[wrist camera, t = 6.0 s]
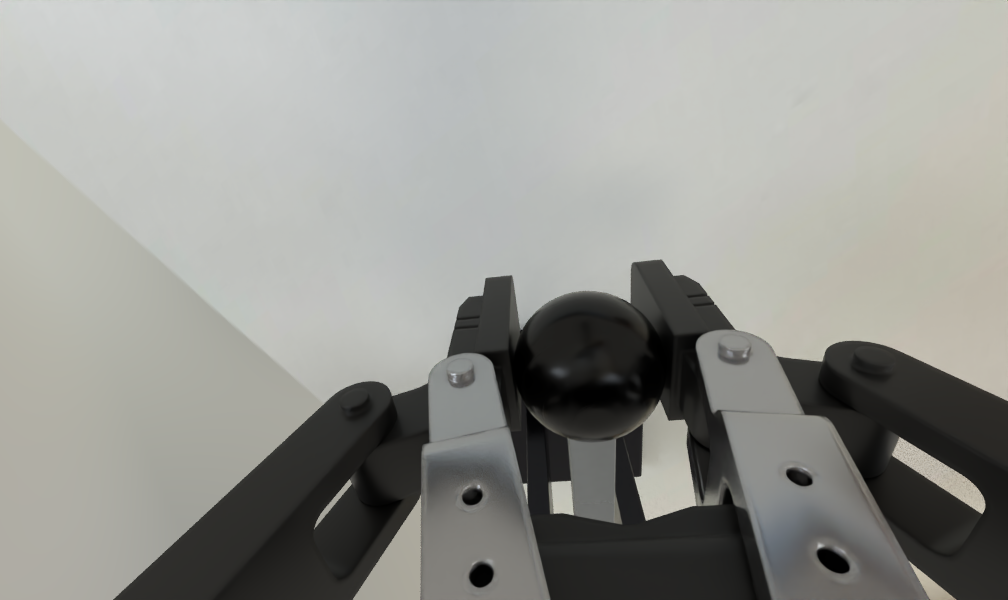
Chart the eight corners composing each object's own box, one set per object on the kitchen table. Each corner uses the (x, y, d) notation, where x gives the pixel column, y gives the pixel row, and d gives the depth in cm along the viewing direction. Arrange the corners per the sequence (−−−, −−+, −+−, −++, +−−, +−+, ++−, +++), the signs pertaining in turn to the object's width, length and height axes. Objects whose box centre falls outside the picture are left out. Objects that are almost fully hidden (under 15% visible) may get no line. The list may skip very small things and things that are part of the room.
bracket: (484, 333, 26) (452, 581, 14) (640, 318, 25) (754, 569, 13) (510, 470, 31) (504, 729, 19) (637, 462, 30) (713, 727, 18)
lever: (505, 270, 10) (502, 372, 7) (648, 255, 10) (698, 355, 7) (555, 583, 20) (562, 673, 17) (626, 580, 20) (644, 671, 17)
